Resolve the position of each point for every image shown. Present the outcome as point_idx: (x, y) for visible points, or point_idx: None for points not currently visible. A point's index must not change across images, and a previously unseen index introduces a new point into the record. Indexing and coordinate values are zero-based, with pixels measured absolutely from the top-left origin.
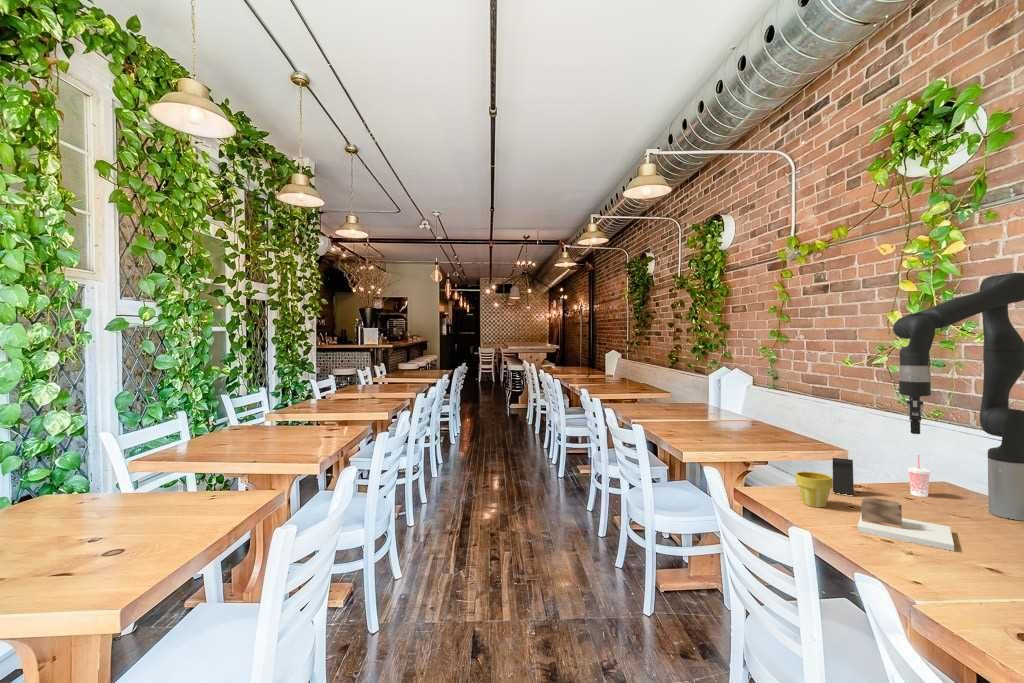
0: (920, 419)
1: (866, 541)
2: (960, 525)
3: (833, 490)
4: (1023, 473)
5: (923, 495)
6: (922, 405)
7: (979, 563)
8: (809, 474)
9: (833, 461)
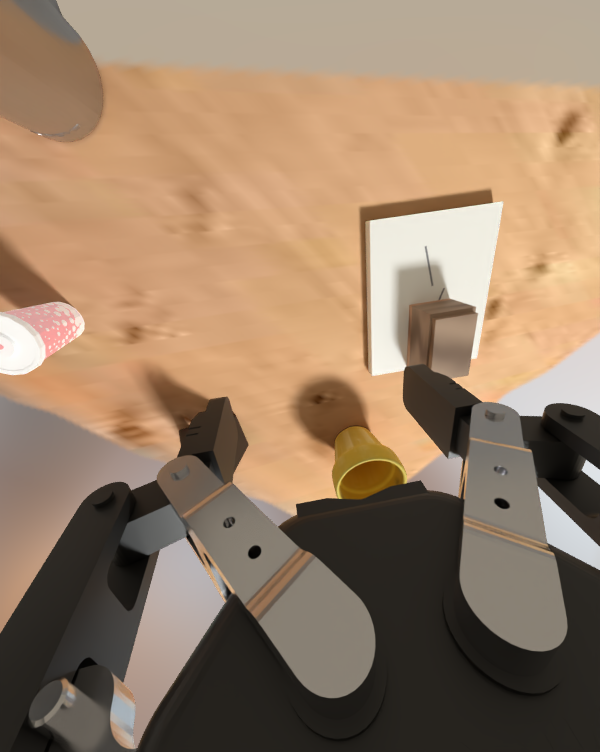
0: (582, 408)
1: (512, 332)
2: (288, 205)
3: (246, 448)
4: None
5: (74, 310)
6: (550, 561)
7: (540, 155)
8: (342, 495)
9: None
